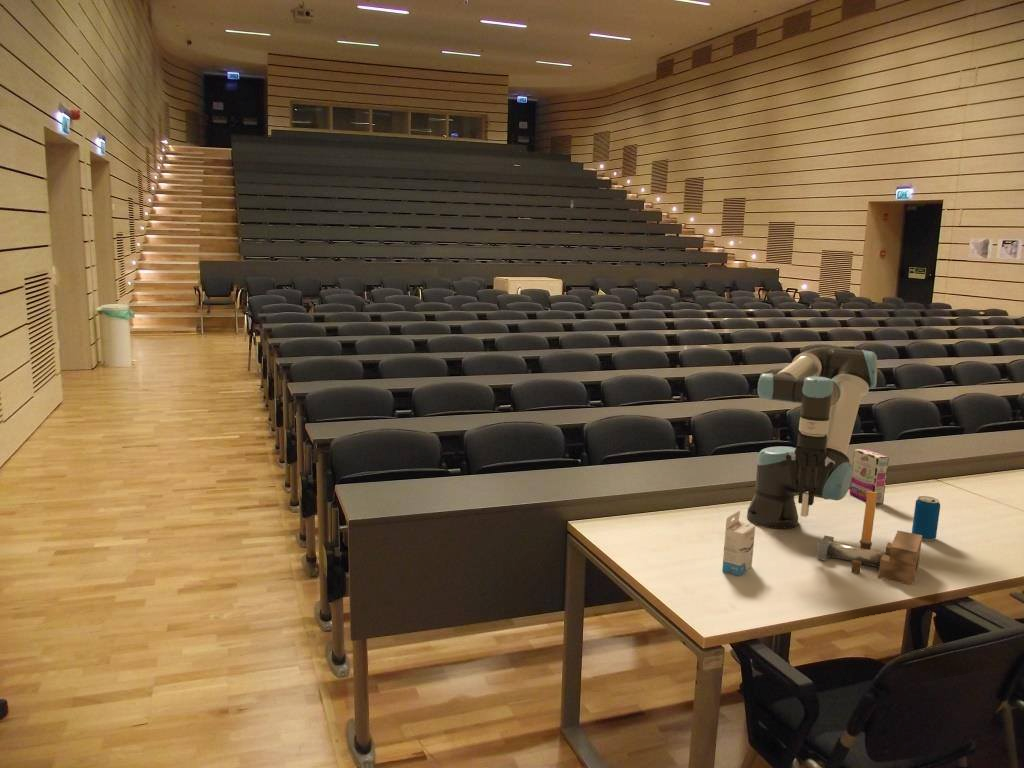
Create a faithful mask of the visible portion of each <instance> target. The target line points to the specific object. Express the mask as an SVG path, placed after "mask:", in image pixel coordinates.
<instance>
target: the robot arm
mask: <svg viewBox="0 0 1024 768" xmlns="http://www.w3.org/2000/svg"><path fill="white" fill-rule="evenodd" d="M877 356H878V355H877V354H876V353H875V352H874V351H872V350H871V351H870V350H864V349H861V350H860V349H852V348H851V349H850V348H840V347H832V346H821V347H815V348H811V349H809V350H808V349H807V350H805V351H802V352H801V353H799V354H797V355H796V356H794V358H793V359H792V360H791V361H792V362H791V363H790V364H788V365H787V366H785V367H784V368H783V369H781V370H780V371H779V372H777V373H776V374H775V373H761V375H760V376H759V379H758V382H757V395H758V396H759V398H760V399H765V400H769V401H772V400H773V401H778V402H786V403H787V402H788V403H794V404H799V405H800V404H801V405H800V406H801V408H800V415H799V422H798V423H799V424H798V431H799V432H798V434H797V442H796V444H797V445H796V447H793V446H782V445H781V446H769V447H766V448H763V449H761V450H760V451H759V452H758V456H757V457H758V458H757V462H756V477H755V489H754V495H753V497H752V500H751V502H750V504H749V506H748V508H747V511H746V512H747V513H746V518H747V520H749V521H750V522H751V524H752V523H753V524H754V525H757V526H761V527H765V528H769V529H779V530H784V529H785V530H786V529H792V528H795V527H797V526H798V524H799V514H798V510H797V506H796V501H795V493H796V494H798V500H797V502H798V504H801V508H800V516H801V517H805V518H806V517H808V516H809V512H810V511H809V509H810V506H812V505H813V504H814V499H815V498H821V499H824V500H832V501H840V500H843V498H845V496H847V494H848V491H849V490H850V486H851V480H852V476H853V463H851V459H850V457H849V456H848V455H847V453H848V449H849V444H850V442H851V438H852V435H853V434H852V433H853V430H854V426H855V423H856V419H857V417H858V416H857V415H858V411H859V408H860V404H861V401H862V397H863V396H866V395H867V394H868V393H869V390H870V389H875V388H876V387H877V379H878V378H877V377H878V357H877Z"/></svg>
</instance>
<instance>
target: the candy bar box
mask: <svg viewBox="0 0 1024 768" xmlns="http://www.w3.org/2000/svg"><path fill="white" fill-rule="evenodd" d="M853 452H854V453H853V461H852V465H853V476H852V480H851V484H850V487H849V495H850V496H852V497H854V498H857V499H858V500H861V501H863V502H865V503H866V499H867V492H868V491H871V492H877V499H876V505H882V504H883V505H884V499H885V493H886V486H887V485H886V483H887V476H888V469H889V468H888V467H889V460H890V457H889V456H888V455H887V456H886V455H884V454H881V453H879V452H875V451H872V450H869V449H867V448H858V449H857V448H856V449H854V451H853Z"/></svg>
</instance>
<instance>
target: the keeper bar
mask: <svg viewBox="0 0 1024 768" xmlns="http://www.w3.org/2000/svg"><path fill="white" fill-rule="evenodd" d="M876 499H877V492H871V491H868V492H867V499H866V502H865V509H864V515H863V516H864V517H863V523H862V531H861V539H859V544H860V545H861V544H866V545H870V546H871V547H872V545H873V542H872V537H873V528H874V522H875V514H876V506H877V504H876Z"/></svg>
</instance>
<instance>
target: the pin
mask: <svg viewBox="0 0 1024 768" xmlns="http://www.w3.org/2000/svg"><path fill="white" fill-rule="evenodd" d="M834 539H835V537H834V536H831V535H830V536H829V535H824V536H823V537H822V538H821V540H820V542H819V543H818V545H817V554H816V559H817V560H823V561H827V560H828V557H831V558H832V557H833V558H837V559H841V560H846V561H849V562H850V561H851V562H852V561H853V560H858V561H861V565H862V564H863V565H868V566H871V567H876V568H880V560H881V557H882V555H883V554H884V555H888V556H890V554H886V553H885V552H880V551H877V550H872V549H870V550H868V549H863V548H860V546H859V547H858V546H853V545H849V544H844V543H840V542H835V541H834Z"/></svg>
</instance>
